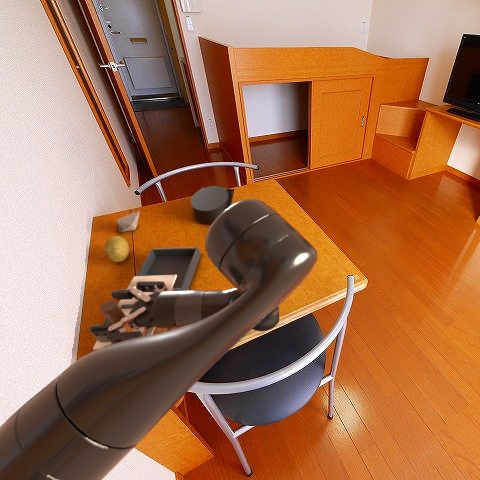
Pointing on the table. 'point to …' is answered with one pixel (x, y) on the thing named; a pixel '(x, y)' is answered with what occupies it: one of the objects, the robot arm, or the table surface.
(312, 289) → the table surface
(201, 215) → the dark grey round pot
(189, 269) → the bin
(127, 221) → the paper boat
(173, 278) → the beige flat block
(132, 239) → the table surface
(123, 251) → the sculpture
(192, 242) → the table surface
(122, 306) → the bar
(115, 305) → the stamp with brown handle
